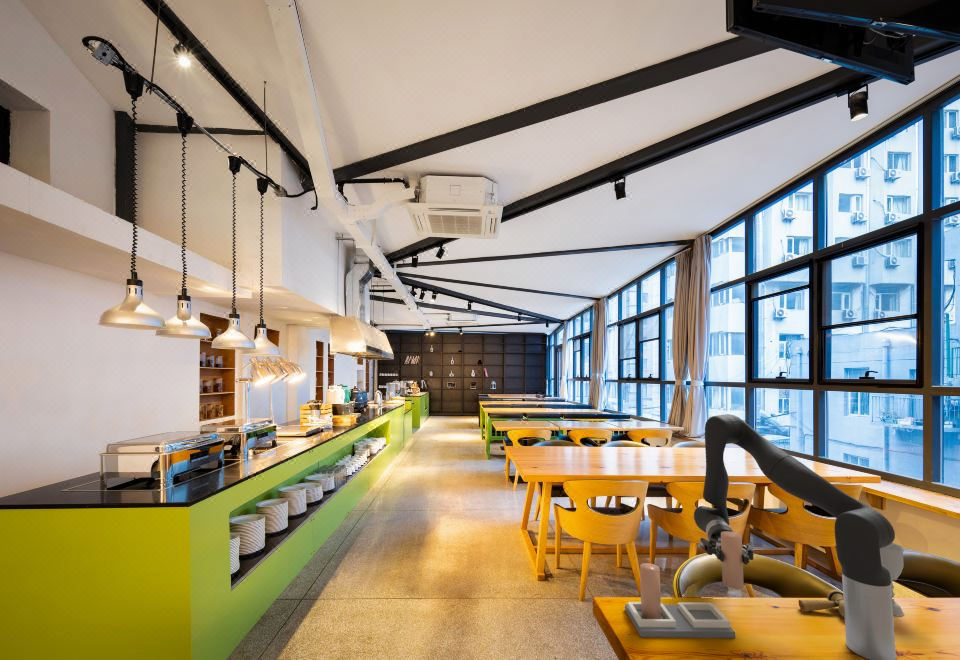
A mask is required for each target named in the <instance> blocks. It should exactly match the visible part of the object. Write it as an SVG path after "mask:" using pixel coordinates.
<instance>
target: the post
mask: <svg viewBox="0 0 960 660" xmlns="http://www.w3.org/2000/svg"><path fill="white" fill-rule="evenodd" d="M742 545H743V536H742V535H741V534H740V533H738V532H735V531H733V532H729V531H723V532H721V550H722V552H723V554H724V562H721V572H722V573H721V576H722V578H721V579H722V581H721V582H722V585H724V586H725V587H728V588H731V589H736V590H741V589H743V588H744V583H745V582H744V563H743V556H742Z"/></svg>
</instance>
